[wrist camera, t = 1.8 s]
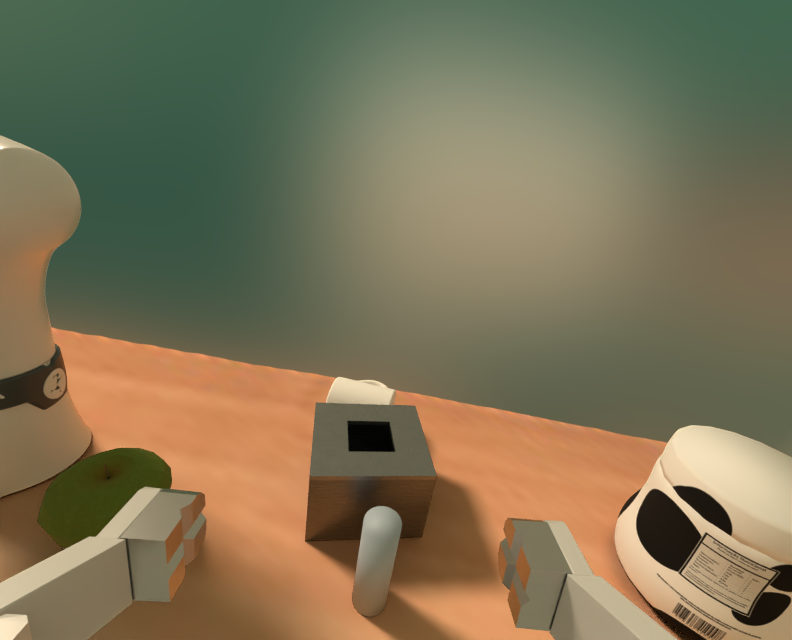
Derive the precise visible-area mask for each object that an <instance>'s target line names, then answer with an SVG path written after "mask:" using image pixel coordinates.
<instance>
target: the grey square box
mask: <svg viewBox="0 0 792 640" xmlns="http://www.w3.org/2000/svg"><path fill="white" fill-rule="evenodd" d="M436 476H437V475H436V472H435V469H434V466H433V462H432V459H431V456H430V453H429V449H428V446H427V443H426V440H425V436H424V433H423V430H422V427H421V423H420V420H419V417H418V414H417V410H416V407H415V406H408V405H377V404H346V403H316V408H315V420H314V431H313V443H312V455H311V467H310V479H309V493H308V507H307V521H306V535H305V541H326V540H355V539H361V534H362V527H363V521H364V516H365V514H366V513H367V512H368V511H369V510H370V509H372V508H374V507H377V506H385V507H389V508H391V509H393V510H394V511H396V512H397V513H398V515H399V516H400V518H401V521H402V529H401V534H400V538H413V537H422V534H423V530H424V526H425V522H426V518H427V514H428V509H429V505H430V501H431V497H432V493H433V489H434V485H435V481H436Z"/></svg>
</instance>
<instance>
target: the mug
mask: <svg viewBox="0 0 792 640" xmlns="http://www.w3.org/2000/svg"><path fill="white" fill-rule="evenodd" d="M395 399H396V391H395V390H393V389H389V388H388V387H386V386H385V385H384V384H382V383H380V382H378V381H374V380H361V381H355V380H351V379H347V378H343V377H338V378H336V379H335V381H334V382H333V384H332V386H331V388H330V391H329V394H328V397H327V401H326V403H346V404H377V405H395Z"/></svg>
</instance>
